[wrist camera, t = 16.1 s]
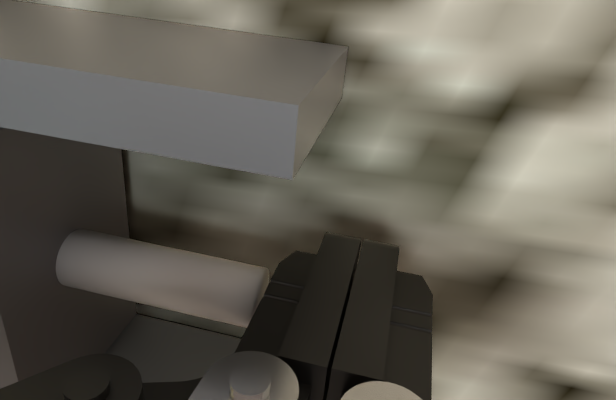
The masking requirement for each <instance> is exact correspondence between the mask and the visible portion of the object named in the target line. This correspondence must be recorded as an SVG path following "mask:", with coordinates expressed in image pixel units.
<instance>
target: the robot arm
mask: <svg viewBox="0 0 616 400" xmlns="http://www.w3.org/2000/svg"><path fill="white" fill-rule="evenodd" d="M360 246H361V239H360V238H355V237H350V236H345V235H340V234H335V233H329V232H326V234H325V236H324V238H323V241H322V244H321V246H320V249H319V251H318V254H317V255H315V254H310V253H306V252H301V251H295V252H294V253H292V254H291V255H290V256H288V257H287V258H285V259H284V260H283V261H281V262H280V263H279V264H278V266H277V268H276V270H275V272H274V274H273V276H272V278H271V282H270V283H269V284H268V286H267V289H266V291H265V293H264V296H263V297H262V299H261V301H260V303H259V305H258V307H257V309H256V311H255V313H254V315H253V317H252V319H251V321H250V323H249V325H248V327H247V329H246V331H245V333H244V335H243V337H242V339H241V341H240V343H239V345H238V347H237V349H236V351H235V352H234V353H233V354H230V355H228V356H225V357H223V358H221V359H220V360H218V361H217V362H215V363H214V364H213V365H212V366H211V367H210V368H209V369H208V370H207V372H206V373H205V374H204V376H203V377H201V378H198V379H193V380H189V381H179V382H150V383H142V379H141V375H140V373H139V370H138V369H137V368H136V366H135V365H134V364H133V363H131V362H130V361H129V360H127V359H125V358H123V357H120V356H117V355H112V354H92V355H86V356H82V357H79V358H76V359H73V360H70V361H68V362H65V363H63V364H60V365H58V366H55V367H53V368H50V369H48V370H45V371H43V372H41V373H38V374H36V375H33V376H31V377H28V378H26V379H23V380H21V381H18V382H16V383H13V384H11V385H8V386H6V387H3V388H1V389H0V400H431V380H432V298H433V295H432V293H431V291H430V289H429V288H428V286H427V284H426V282H425V281H424V279H423V277H422V276H419V275H414V274H409V273H404V272H400V271H397V263H398V255H399V246H397V245H392V244H386V243H381V242H376V241H371V240H366V239H364V241H363V245H362V249H361V253H360ZM359 253H360V257H359ZM358 259H359V261H358Z"/></svg>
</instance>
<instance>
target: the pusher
mask: <svg viewBox="0 0 616 400" xmlns="http://www.w3.org/2000/svg"><path fill="white" fill-rule="evenodd" d="M268 284H269V270H268V268H266V267H261V266H256V265H251V264H247V263H242V262H237V261H232V260H228V259H223V258H218V257H214V256H209V255H204V254H199V253H195V252H190V251H185V250H180V249H176V248H171V247H166V246H161V245H157V244H152V243H147V242H143V241H138V240H133V239H129V228H128V218H127V207H126V196H125V186H124V175H123V164H122V154H121V149H118V148H113V147H107V146H102V145H96V144H91V143H85V142H80V141H74V140H69V139H63V138H58V137H52V136H47V135H41V134H36V133H30V132H25V131H19V130H14V129H8V128H3V127H0V389H1V388H3V387H6V386H8V385H11V384H13V383H16V382H18V381H21V380H23V379H26V378H28V377H31V376H33V375H36V374H38V373H41V372H43V371H45V370H48V369H50V368H53V367H55V366H58V365H60V364H63V363H65V362H68V361H70V360H73V359H76V358H79V357H82V356H86V355H92V354H105V353H106V351H107V350H108V349H109V348H110V346H111V345H112V344H113V343H114V341H115V340H116V339H117V338H118V336H119V335H120V334H121V333H122V331H123V330H124V329H125V328H126V327H127V325H128V324H129V323H130V322H131V320H132V319H133V318H134V317H135V315H136V303H135V302H137V303H141V304H146V305H150V306H154V307H159V308H163V309H167V310H171V311H176V312H180V313H184V314H189V315H193V316H197V317H202V318H206V319H210V320H215V321H219V322H223V323H227V324H232V325H236V326H240V327H245V328H247V327H248V325H249V323H250V321H251V319H252V317H253V315H254V313H255V311H256V309H257V307H258V305H259V303H260V301H261V299H262V297H263V296H264V293H265V291H266V289H267V286H268Z"/></svg>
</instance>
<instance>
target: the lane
mask: <svg viewBox="0 0 616 400" xmlns="http://www.w3.org/2000/svg"><path fill="white" fill-rule="evenodd" d="M347 53H348V46H341V45H334V44H327V43H320V42H312V41H305V40H298V39H290V38H283V37H276V36H269V35H261V34H254V33H247V32H239V31H232V30H225V29H218V28H210V27H203V26H196V25H188V24H181V23H174V22H166V21H159V20H152V19H145V18H137V17H130V16H123V15H115V14H108V13H101V12H94V11H86V10H79V9H72V8H64V7H57V6H50V5H43V4H35V3H28V2H21V1H13V0H0V127H3V128H8V129H14V130H19V131H25V132H30V133H36V134H41V135H47V136H52V137H58V138H63V139H69V140H74V141H80V142H85V143H91V144H96V145H102V146H107V147H113V148H118V149H124V150H129V151H135V152H140V153H146V154H151V155H157V156H162V157H168V158H173V159H179V160H184V161H190V162H195V163H201V164H206V165H212V166H217V167H223V168H228V169H234V170H239V171H245V172H250V173H256V174H261V175H267V176H272V177H278V178H283V179H289V180H293V178H294V177H295V175H296V173H297V172H298V170H299V168H300V167H301V165H302V163H303V162H304V160H305V158H306V157H307V155H308V153H309V152H310V150H311V148H312V147H313V145H314V143H315V142H316V140H317V138H318V137H319V135H320V133H321V132H322V130H323V128H324V127H325V125H326V123H327V122H328V120H329V118H330V117H331V115H332V113H333V112H334V110H335V108H336V107H337V105H338V104H339V102H340V100H341V99H342V93H343V85H344V77H345V69H346V61H347ZM240 341H241V338H236V337H232V336H228V335H224V334H219V333H215V332H211V331H207V330H203V329H198V328H194V327H190V326H186V325H181V324H177V323H173V322H169V321H164V320H160V319H156V318H152V317H147V316H143V315H139V314H136V315H135V317H134V318H133V319H132V320H131V322H130V323H129V324H128V325H127V327H126V328H125V329H124V330H123V331H122V333H121V334H120V335H119V336H118V338H117V339H116V340H115V341H114V343H113V344H112V345H111V346H110V348H109V349H108V350H107V351H106V353H105V354H112V355H117V356H120V357H123V358H125V359H127V360H129V361H130V362H131V363H133V364H134V365H135V366H136V368H137V369H138V370H139V373H140V375H141V379H142V383H150V382H179V381H189V380H193V379H198V378H201V377H203V376H204V374H205V373H206V372H207V370H208V369H209V368H210V367H211V366H212V365H213V364H214V363H215V362H217V361H218V360H220V359H221V358H223V357H225V356H228V355H230V354H233V353H234V352H235V351H236V349H237V347H238V345H239V343H240Z"/></svg>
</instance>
